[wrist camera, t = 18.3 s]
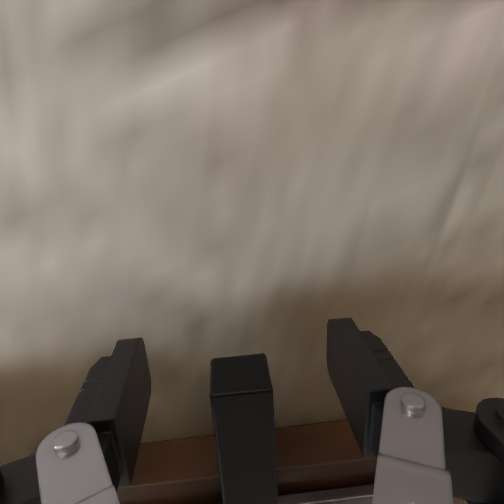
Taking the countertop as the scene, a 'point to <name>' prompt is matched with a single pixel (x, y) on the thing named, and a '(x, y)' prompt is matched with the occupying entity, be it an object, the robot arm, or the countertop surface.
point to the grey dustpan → (256, 438)
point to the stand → (287, 458)
